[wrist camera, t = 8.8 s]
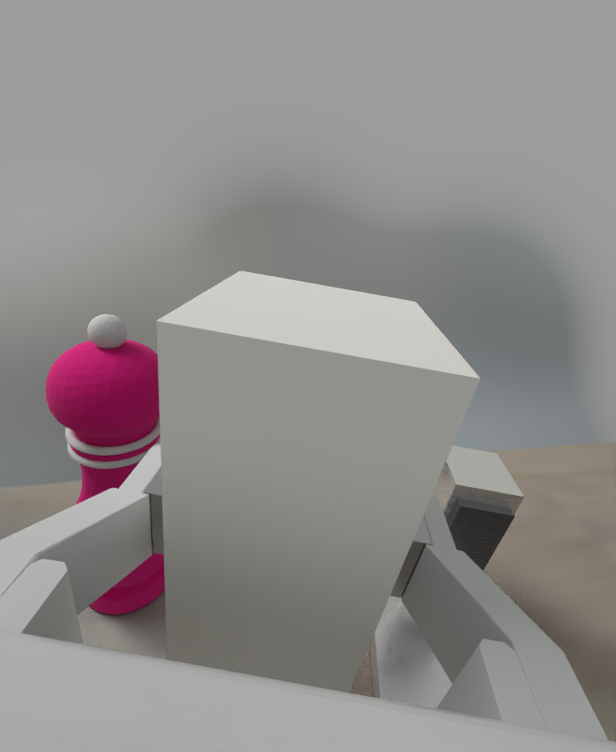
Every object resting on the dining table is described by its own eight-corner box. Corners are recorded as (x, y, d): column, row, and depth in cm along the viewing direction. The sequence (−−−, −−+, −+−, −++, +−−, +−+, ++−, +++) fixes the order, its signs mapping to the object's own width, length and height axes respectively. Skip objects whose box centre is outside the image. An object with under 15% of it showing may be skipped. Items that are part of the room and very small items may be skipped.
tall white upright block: (169, 746, 9) (156, 321, 4) (221, 583, 14) (246, 266, 8) (316, 773, 9) (480, 378, 4) (323, 601, 14) (410, 295, 8)
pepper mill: (100, 529, 29) (65, 288, 20) (190, 532, 30) (194, 305, 21) (51, 624, 22) (-31, 330, 14) (168, 623, 24) (161, 351, 15)
